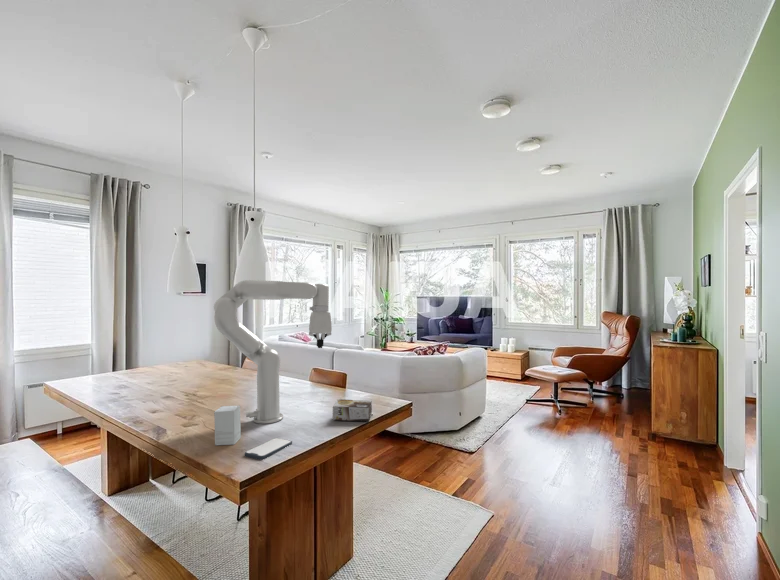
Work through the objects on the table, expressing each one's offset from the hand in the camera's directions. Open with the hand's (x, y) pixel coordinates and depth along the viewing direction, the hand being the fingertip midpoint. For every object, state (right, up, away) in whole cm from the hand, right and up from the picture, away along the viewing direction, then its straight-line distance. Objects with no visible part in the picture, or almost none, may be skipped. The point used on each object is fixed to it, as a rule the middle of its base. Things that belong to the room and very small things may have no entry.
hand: (320, 347), depth 181 cm
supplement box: (-28, -30, -38) cm, 56 cm away
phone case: (-10, -30, -46) cm, 56 cm away
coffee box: (+9, -26, -13) cm, 30 cm away
